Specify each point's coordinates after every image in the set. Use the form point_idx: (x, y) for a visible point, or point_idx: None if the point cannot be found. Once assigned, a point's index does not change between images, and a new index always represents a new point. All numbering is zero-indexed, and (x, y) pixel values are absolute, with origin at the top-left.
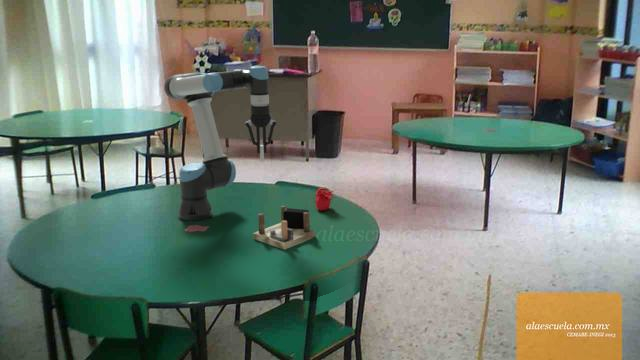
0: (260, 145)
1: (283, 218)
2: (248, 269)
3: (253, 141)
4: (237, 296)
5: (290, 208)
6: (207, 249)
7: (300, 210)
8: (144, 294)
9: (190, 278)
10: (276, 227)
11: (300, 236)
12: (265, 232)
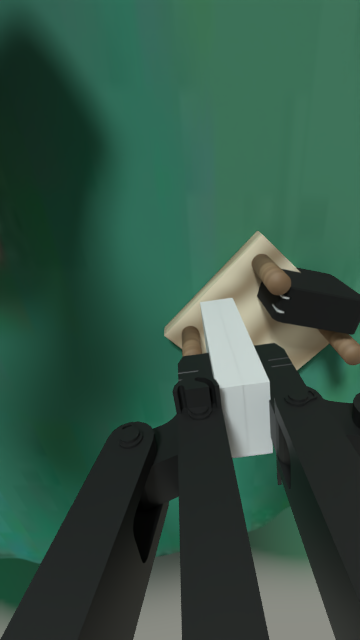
0: (231, 419)
1: (266, 309)
2: None
3: (137, 534)
4: (168, 552)
5: (304, 292)
6: (55, 390)
7: (339, 310)
8: (11, 549)
9: (68, 506)
10: (234, 290)
11: (302, 360)
12: (201, 330)
